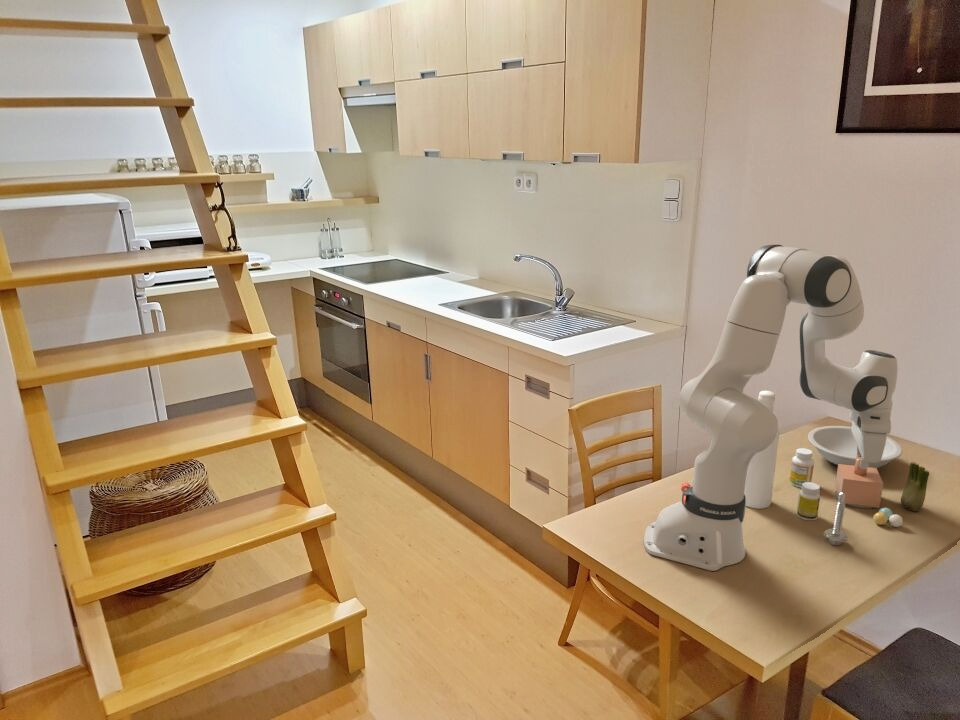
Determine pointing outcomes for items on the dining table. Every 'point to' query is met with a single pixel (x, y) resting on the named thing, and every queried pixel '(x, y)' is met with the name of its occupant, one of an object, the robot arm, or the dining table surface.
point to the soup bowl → (847, 446)
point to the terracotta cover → (859, 485)
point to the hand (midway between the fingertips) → (861, 463)
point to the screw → (837, 523)
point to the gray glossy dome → (854, 505)
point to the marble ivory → (895, 520)
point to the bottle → (762, 466)
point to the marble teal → (886, 512)
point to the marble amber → (880, 518)
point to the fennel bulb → (915, 487)
